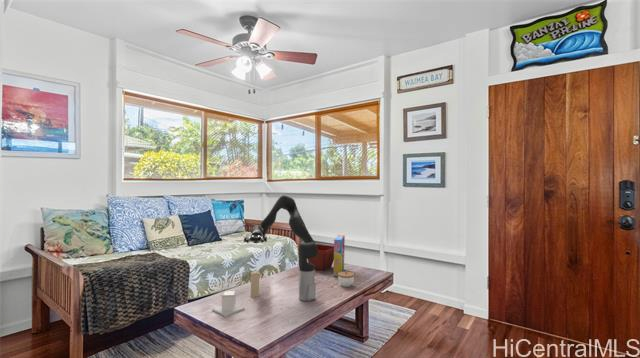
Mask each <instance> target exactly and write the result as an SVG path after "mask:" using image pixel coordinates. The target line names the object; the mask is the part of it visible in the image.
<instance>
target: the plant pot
mask: <svg viewBox="0 0 640 358" xmlns="http://www.w3.org/2000/svg"><path fill="white" fill-rule="evenodd" d="M316 245H317V248H318V255H317V256H316V257H314V258H308V259H307V262H308V263H312V264H314V266H315V270H316V269H317V271H322V272H324V271H327V270H329V269H331V268H332V266H333V265H334V245H326V244H322V243H321V244H319V243H317V244H316Z"/></svg>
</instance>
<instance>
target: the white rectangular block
mask: <svg viewBox="0 0 640 358" xmlns="http://www.w3.org/2000/svg"><path fill="white" fill-rule="evenodd" d="M236 291H237V290H231V291H230V290H229V291H228V290H227V291H225V290H224V291H223V292H222V295H221V305H222V311H228V310H234V308H235V304H236V301H237V300H236V299H237V298H236Z"/></svg>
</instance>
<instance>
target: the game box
mask: <svg viewBox="0 0 640 358" xmlns="http://www.w3.org/2000/svg"><path fill="white" fill-rule="evenodd" d="M345 239H346V235H344V234H343V235H341V234H338V235H337V236H336V237H335V238H334V240H333V246H334V261H333V275H332V276H333V277H338V273H340V272H344V271H345V243H346V242H345V241H346V240H345Z"/></svg>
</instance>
